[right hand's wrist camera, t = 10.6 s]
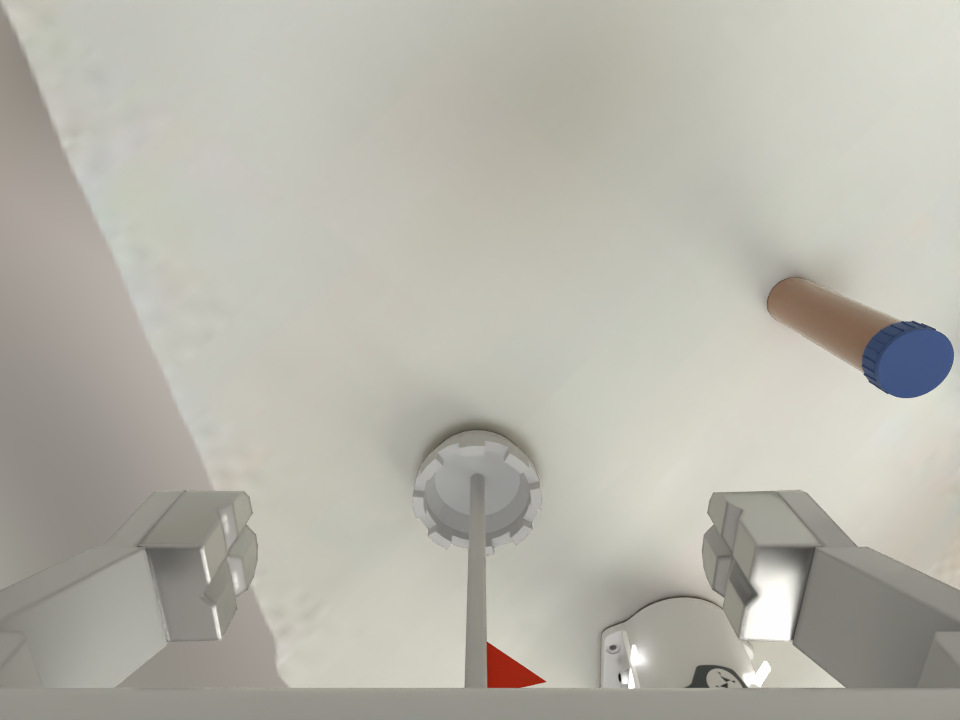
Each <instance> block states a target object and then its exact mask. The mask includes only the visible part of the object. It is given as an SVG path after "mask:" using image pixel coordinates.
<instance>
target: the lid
mask: <svg viewBox="0 0 960 720" xmlns="http://www.w3.org/2000/svg"><path fill="white" fill-rule="evenodd" d="M953 359H954V352H953V347H952V344H951V342H950V341H949V339H948V338H947V337H946V336H945V335H943V334H942V333H940V332H938V331H936V329H934V328H932V327H929V326H927V325H924V324H922V323H921V324H919V323H917V322H915V321H912V322H907V321H906V322H904V321H901V322H898V323H894V324H890V325H889V326H887V327H885V328H883V329H881V330H880V331H879V332H878V333H877V334H875V335H874V336H873V337H872V339H871V340H870V341H869V342H868V344H867V346H866V348H865V350H864V352H863V356H862V365H861V367H862V369H863V372H864V375H865V376H866V377H867V379H868V380H869V382H870V383H871V384H873V385H875V386H876V387H877V388H879V389H881V390H882V391H884V392H885V393H887V394H891V395H893V396H896V397H900V398H913V397H918V396H921V395H924V394H926V393H928V392H930V391H931V390H933V389H934V388H936V387H937V386H938V385H939V384H940V383H941V382H942V381H943V380H944V379H945V378H946V376H947V375H948V373H949V371H950V369H951V367H952V364H953Z"/></svg>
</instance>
